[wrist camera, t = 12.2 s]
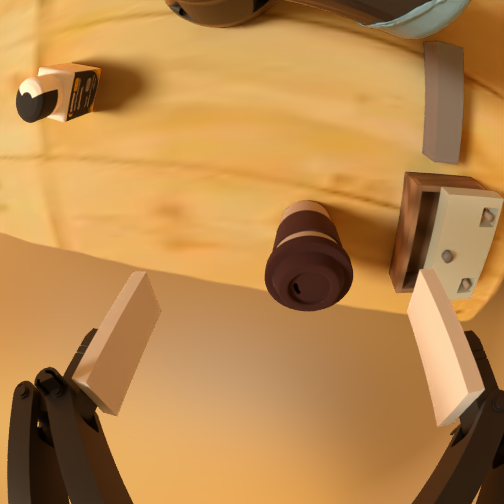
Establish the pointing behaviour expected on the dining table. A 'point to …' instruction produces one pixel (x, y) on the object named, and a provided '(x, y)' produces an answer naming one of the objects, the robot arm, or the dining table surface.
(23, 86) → the medicine bottle
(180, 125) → the dining table surface
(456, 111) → the block
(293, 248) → the coffee cup
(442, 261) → the door
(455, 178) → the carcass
